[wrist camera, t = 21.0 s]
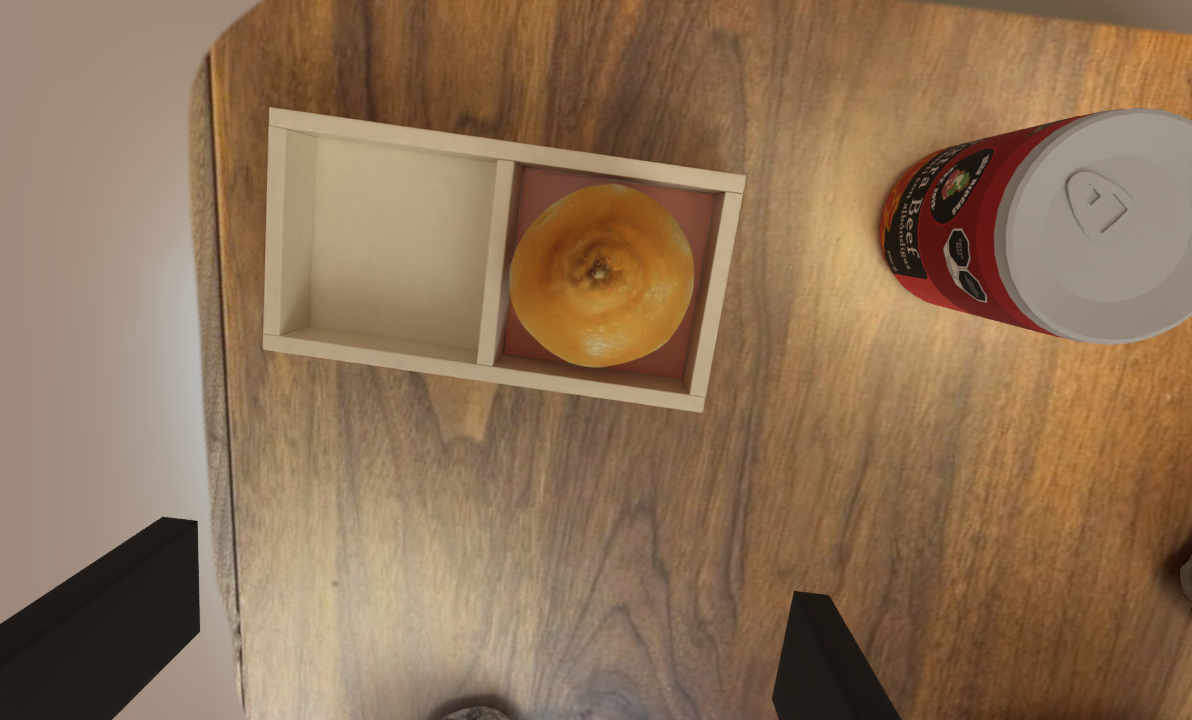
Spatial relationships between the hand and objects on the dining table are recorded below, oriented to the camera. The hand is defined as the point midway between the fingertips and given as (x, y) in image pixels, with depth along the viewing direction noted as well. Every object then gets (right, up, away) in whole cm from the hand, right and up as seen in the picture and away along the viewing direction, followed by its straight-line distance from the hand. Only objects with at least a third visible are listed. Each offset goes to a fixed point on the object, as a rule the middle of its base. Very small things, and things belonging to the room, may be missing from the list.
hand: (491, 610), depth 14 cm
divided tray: (-2, +11, +19) cm, 22 cm away
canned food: (+20, +12, +18) cm, 30 cm away
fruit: (+3, +10, +18) cm, 21 cm away
